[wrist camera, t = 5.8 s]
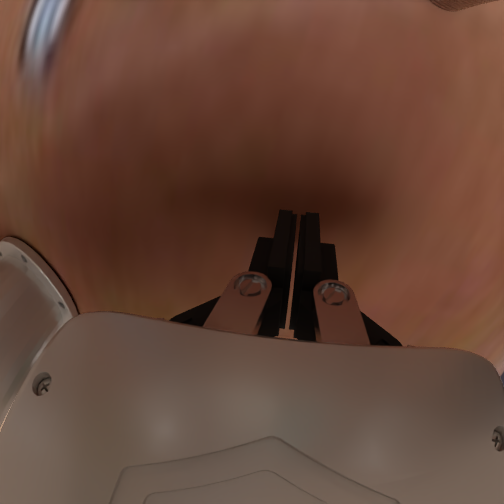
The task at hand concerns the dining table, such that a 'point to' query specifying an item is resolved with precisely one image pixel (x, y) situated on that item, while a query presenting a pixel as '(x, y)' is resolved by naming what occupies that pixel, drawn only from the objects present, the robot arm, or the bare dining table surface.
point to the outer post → (458, 4)
